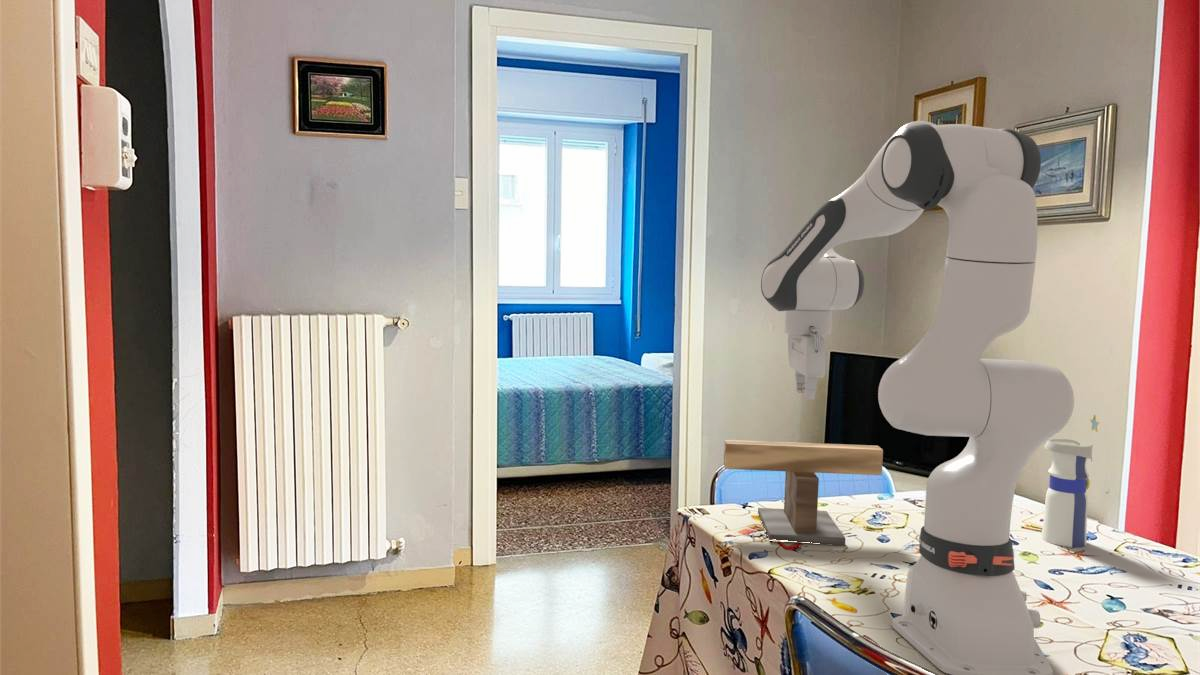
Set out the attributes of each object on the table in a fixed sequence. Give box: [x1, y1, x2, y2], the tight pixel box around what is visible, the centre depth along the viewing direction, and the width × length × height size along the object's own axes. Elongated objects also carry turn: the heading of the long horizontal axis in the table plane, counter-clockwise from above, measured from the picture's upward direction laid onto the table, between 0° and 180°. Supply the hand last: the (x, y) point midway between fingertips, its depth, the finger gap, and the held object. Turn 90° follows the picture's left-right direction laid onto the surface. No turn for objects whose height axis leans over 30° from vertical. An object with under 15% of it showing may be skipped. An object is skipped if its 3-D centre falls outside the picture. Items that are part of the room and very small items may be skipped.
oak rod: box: [723, 439, 884, 476], centre depth 165 cm, size 4×30×5 cm, turn 86°
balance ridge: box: [757, 471, 846, 546], centre depth 166 cm, size 18×14×12 cm
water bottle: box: [1041, 414, 1100, 548], centre depth 163 cm, size 8×9×25 cm
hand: (805, 395), depth 164 cm, fingers open, 8 cm apart
